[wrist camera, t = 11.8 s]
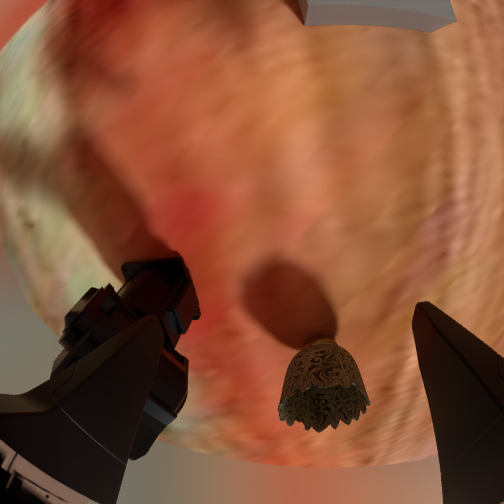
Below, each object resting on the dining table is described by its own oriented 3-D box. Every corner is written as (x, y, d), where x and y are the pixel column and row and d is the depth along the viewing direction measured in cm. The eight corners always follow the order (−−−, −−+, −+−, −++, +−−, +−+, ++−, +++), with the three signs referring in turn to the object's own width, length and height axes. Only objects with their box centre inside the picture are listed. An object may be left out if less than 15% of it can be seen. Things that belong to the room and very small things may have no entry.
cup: (267, 350, 27) (259, 417, 20) (314, 304, 24) (320, 376, 17) (322, 376, 28) (325, 438, 21) (371, 337, 25) (387, 403, 18)
